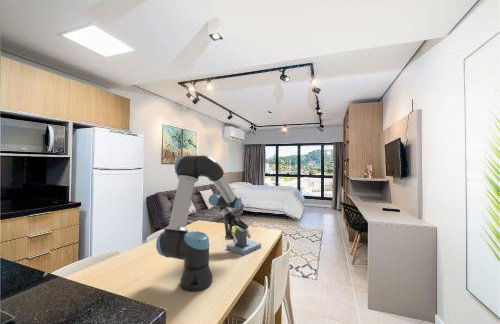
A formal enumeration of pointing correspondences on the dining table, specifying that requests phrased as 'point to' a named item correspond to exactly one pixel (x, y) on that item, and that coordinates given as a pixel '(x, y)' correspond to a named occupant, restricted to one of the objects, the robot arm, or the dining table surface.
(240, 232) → the servo block
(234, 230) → the plastic component
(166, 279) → the dining table surface
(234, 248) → the plate
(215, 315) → the dining table surface
